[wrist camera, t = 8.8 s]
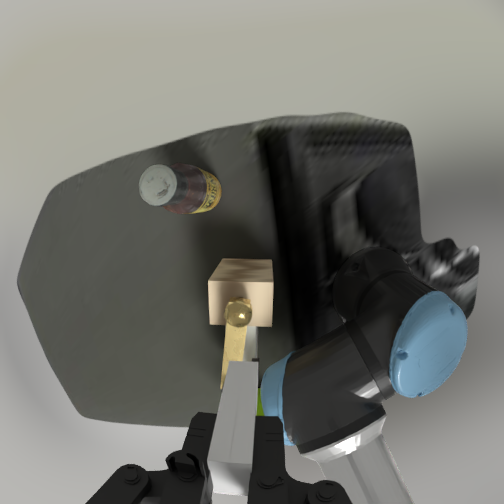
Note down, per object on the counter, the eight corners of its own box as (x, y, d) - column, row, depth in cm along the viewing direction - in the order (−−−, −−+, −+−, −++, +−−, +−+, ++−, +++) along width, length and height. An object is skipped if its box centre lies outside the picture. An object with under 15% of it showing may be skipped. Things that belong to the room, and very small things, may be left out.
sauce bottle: (224, 210, 44) (191, 223, 25) (186, 212, 45) (131, 227, 25) (222, 169, 43) (188, 151, 24) (184, 172, 43) (127, 160, 24)
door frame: (271, 259, 46) (274, 289, 31) (267, 362, 50) (267, 416, 35) (222, 258, 46) (203, 287, 32) (225, 361, 50) (212, 413, 36)
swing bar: (227, 295, 33) (223, 305, 30) (254, 299, 33) (253, 310, 30) (219, 381, 36) (215, 395, 32) (242, 384, 35) (240, 399, 32)
